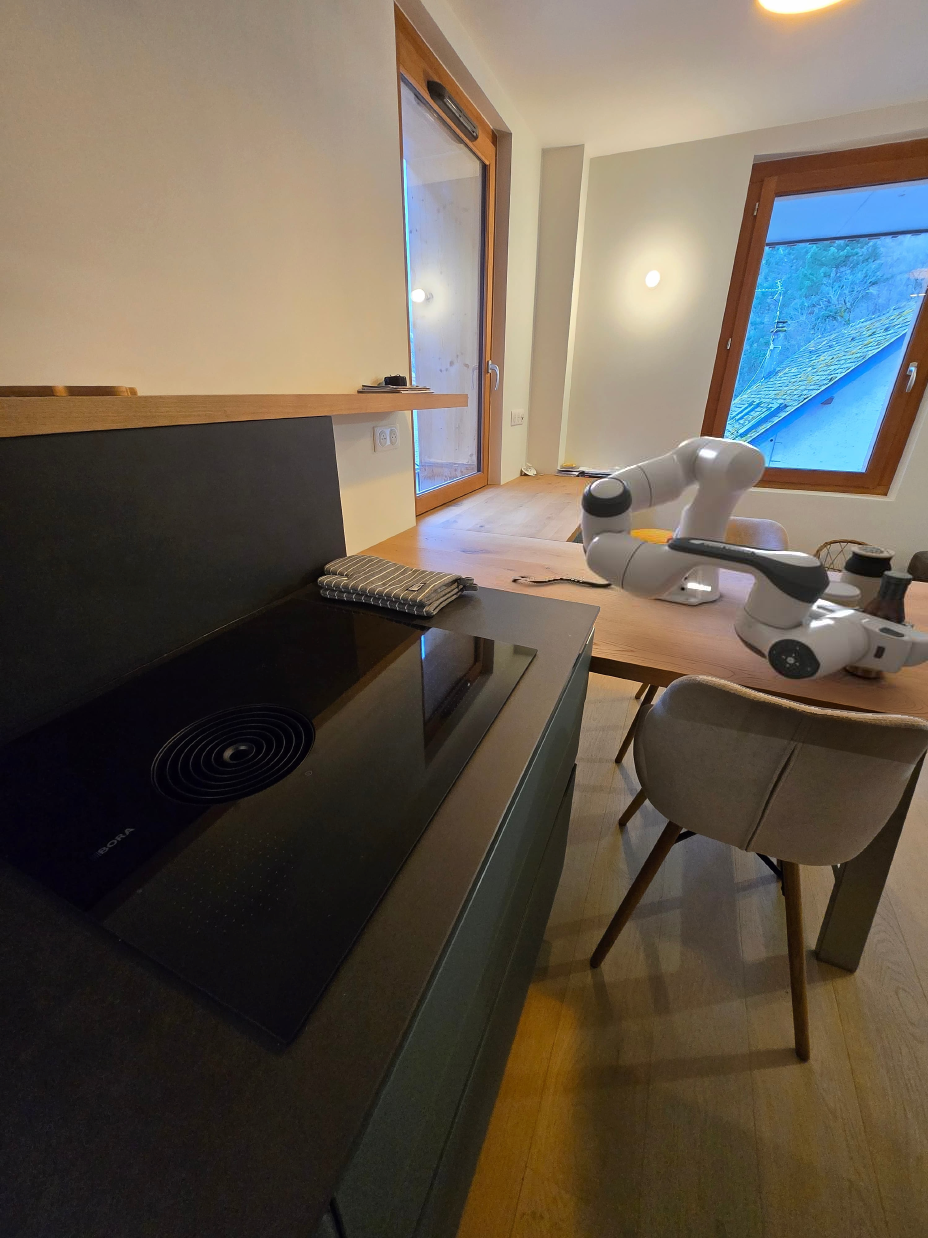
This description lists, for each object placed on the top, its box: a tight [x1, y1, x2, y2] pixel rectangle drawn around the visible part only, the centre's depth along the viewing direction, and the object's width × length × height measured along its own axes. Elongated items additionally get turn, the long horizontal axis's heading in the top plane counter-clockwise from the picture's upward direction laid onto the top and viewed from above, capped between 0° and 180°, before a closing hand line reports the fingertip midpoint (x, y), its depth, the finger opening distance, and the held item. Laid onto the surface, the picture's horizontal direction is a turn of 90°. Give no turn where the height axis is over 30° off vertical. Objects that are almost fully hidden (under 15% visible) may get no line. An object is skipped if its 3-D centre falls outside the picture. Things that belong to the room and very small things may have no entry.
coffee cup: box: [820, 579, 861, 608], centre depth 105 cm, size 9×9×12 cm
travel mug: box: [838, 544, 897, 608], centre depth 109 cm, size 8×8×18 cm
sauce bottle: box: [844, 570, 914, 679], centre depth 91 cm, size 7×6×20 cm
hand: (884, 618), depth 91 cm, fingers closed on sauce bottle, 6 cm apart
